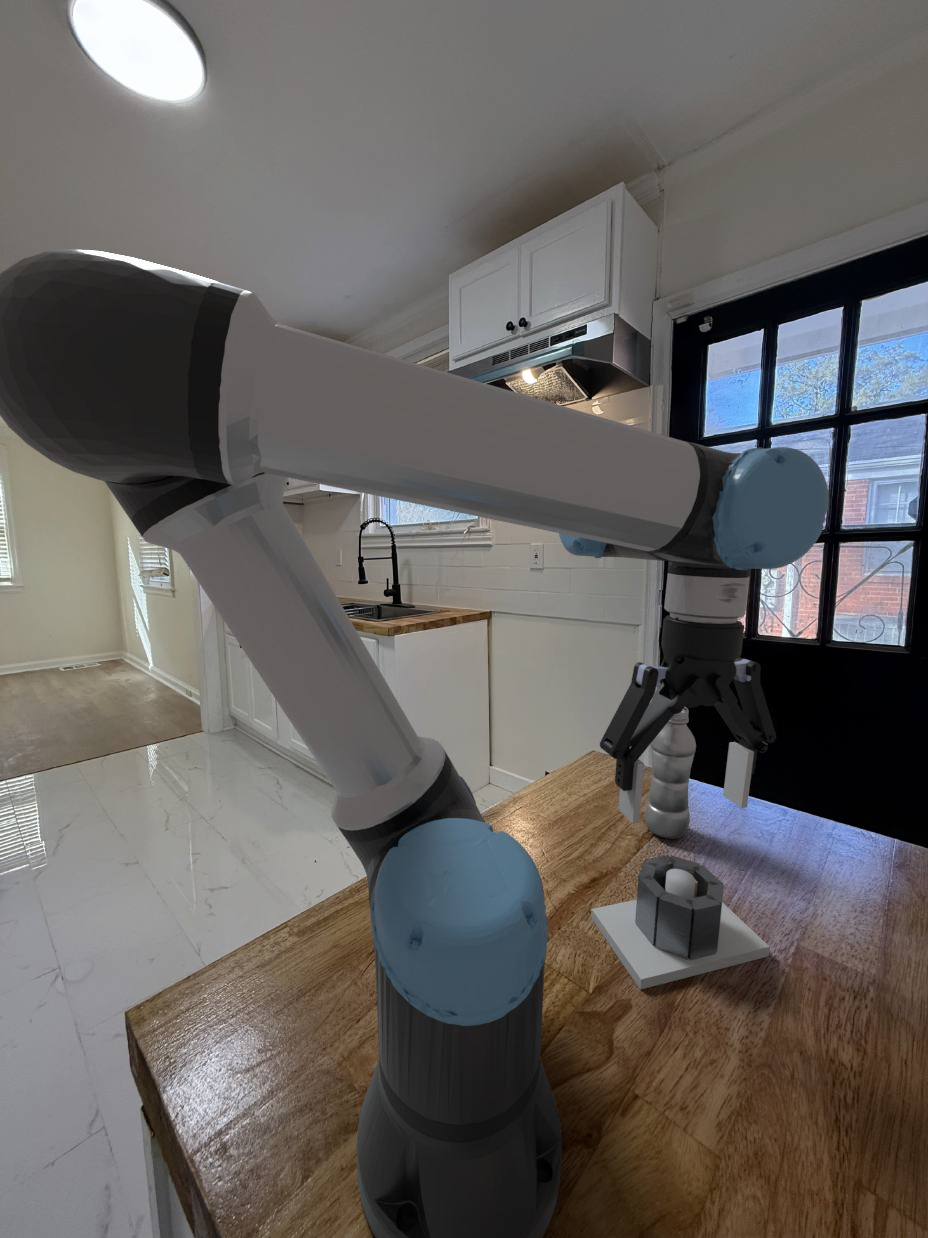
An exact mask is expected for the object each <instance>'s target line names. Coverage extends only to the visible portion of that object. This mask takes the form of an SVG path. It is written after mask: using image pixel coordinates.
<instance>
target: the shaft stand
mask: <svg viewBox="0 0 928 1238" xmlns="http://www.w3.org/2000/svg"><path fill="white" fill-rule="evenodd" d="M697 885H698V882H697V881H696V880H695V878H694V877H693V876H692V875H691V874H690V873H688V872H686V871H684V870H681V869H670V870H668V871H667V873H666V885H665V891H666V892H669V893H672V894H675V895H678V896H681V897H684V898H687V899H692V898H696V896H697ZM636 904H637V899H633V900H627V901H623V902H618V903H614V904H609V905H608V904H607V905H604V906H600V907H599V906H598V907H594V908H591V911H590V912H591V913H590V915H591V916H590V918H591V920H592V922H593V923H594V925H595V926H596V928H598V930H599V932H600V933H601V934H602V936H603V937H604V939H605V940H606V942H607V944H609V946H610V947H611V949H612V950H613V952H614V953H615V955H616V956H617V958H618V959H619V961H620V962H621V964H622V965H623V967H624V968H625V969H626V971H627V972H628V974H629V976H630V977H631V978H632V980H633V981H634V983H635V985H637V987H638V988H639V990H644V989H647V988H653V987H655V986H656V987H657V986H660V985H664V984H667V983H671V982H675V981H678V980H683V979H688V978H691V977H694V976H698V975H702V974H706V973H709V972H715V971H718V970H721V969H725V968H729V967H730V968H731V967H733V966H737V965H741V964H744V963H749V962H751V961H756V960H760V959H763V958H767V957H769V954H770V945H768V943H766V941H764V940H763V939H762V938H761V937H760V936H759V935H758V934H757V933H756V932H754V931H753V930H752V929H751V928H750V926H748V925H747V924H746V923H745V922H744V921H743V920H741V918H740V917H738V916H737V915H736V914H735V913H734V912H733V911H732V910H731V909H730V908H729V907H728V906H727V905H726V904H725V903H724V902H722V909H721V919H720V928H719V938H718V948H717V953H716V954H714V955H710V956H706V957H702V958H698V959H694V960H689V958H688V959H687V960H685V959H683V958H680V957H678V956H675V955H673V954H670V953H667V952H665V951H662V950H660V949H657V948H655V946H656V945H655V946H652V944H651V943H650V942H649V941H648V939H647V938H646V937H645V935H644V934H643V933H642V932H641V930H640V929H639V928H638V927H637V925H636V923H635V919H636Z"/></svg>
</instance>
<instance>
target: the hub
mask: <svg viewBox="0 0 928 1238" xmlns="http://www.w3.org/2000/svg"><path fill="white" fill-rule="evenodd" d="M670 869H681V870H684V871H686V872H688V873H690V874H691V875H692V876H693V877H694V878H695V880H696V881H697V882H698V885H697V896H696V898H692V899H687V898H684V897H681V896H678V895H675V894H672V893H669V892H666V891H665V885H666V873H667V871H668V870H670ZM637 877H638V878H637V889H636V890H637V894H636V900H637V904H636V919H635V923H636V925H637V927H638V928H639V929H640V930H641V932H642V933H643V934H644V935H645V937H646V938H647V939H648V941H649V942H650V943H651V944H652V946H655V945H656V946H655V948H657V949H660V950H662V951H665V952H667V953H670V954H673V955H675V956H678V957H680V958H683V959H685V960H687V959H688V958H689V960H694V959H698V958H702V957H706V956H710V955H714V954H716V953H717V948H718V938H719V928H720V919H721V909H722V903H723V899H724V898H723V897H724V896H723V895H724V890H725V889H724V888H725V887H724V886H725V885H724V883H723V882H722V881H721V880H720V879H719V878H718V877H716V876H715V875H714V874H713V873H712V872H711V871H710V870H709V869H707V868H706V866H704V865H703V864H701V863H698V862H696V861H692V860H689V859H685V858H682V857H678V856H675V855H669V854H666V855H660V856H654V857H650V858H645V860H643V861H642V865H641V868H640V870H639V873H638V876H637Z"/></svg>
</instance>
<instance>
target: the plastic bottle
mask: <svg viewBox="0 0 928 1238" xmlns="http://www.w3.org/2000/svg"><path fill="white" fill-rule="evenodd" d="M689 719H690V718H689V708H688V707H686V706H685V707H684V709H683V710H682V711H681V712H680V713H678V714H674V715H673V717H672V718H671V719H670V720H669V721H668V723H667V724H666V725H665V726H664V728H663V729H662V730H661V731H660V733H659V734H658V735H657V736H656V738H655V739H654V740H653V741H652V742H651V744H650V753H651V782H650V788H649V793H648V799H647V801H646V804H645V809H644V818H645V819H644V820H645V824H646V826H647V827H648V829H649V831H650V832H651V833H652V834H653V835H655V836H657V837H660V838H664V839H670V840H676V839H680V838H682V837H683V836H684V835H686V833H687V832H688V830H689V827H690V822H691V821H690V820H691V818H690V808H689V785H690V784H689V783H690V776H691V768H692V764H693V761H694V758H695V753H696V748H697V744H696V739H695V736H694V735H693V733H692V731H691V730H690V728H689V727H688V725H687V724H688V723H689V721H690V720H689Z"/></svg>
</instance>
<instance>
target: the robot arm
mask: <svg viewBox="0 0 928 1238" xmlns="http://www.w3.org/2000/svg"><path fill="white" fill-rule="evenodd" d="M0 418H2V420H3V421H4V423H5V424H6V426H8V427H7V428H9V429H10V430H11V431H12V432H14V433H15V434H16V435H17V436H18V437H19V439H21V440H22V441H23V442H25V444H27V446H30V447H31V448H32V449H33V450H35V451H37V453H39V454H40V455H42V456H43V457H45V458H46V459H48V460H49V461H51V462H53V463H55V464H57V465H59V466H61V467H62V468H65V469H68V470H69V471H71V472H73V473H75V474H79V475H82V476H86V477H88V478H92V479H95V480H98V481H101V482H102V481H103V482H104V483H105V485H106V486H107V488H108V489H109V490H110V492H111V493H112V495H113V496H114V498H115V499H116V501H117V502H118V503H119V505H120V507H121V508H122V509H123V511H124V513H125V514H126V515H127V517H128V519H129V520H130V521H131V523H132V524H133V526H134V527H135V528H136V530H137V532H138V533H139V534H140V536H141V537H142V539H143V541H145V542H146V543H148V544H151V545H155V546H158V547H161V548H165V549H169V550H173V551H174V552H176V553H178V554H179V555H180V557H181V558H182V559H183V561H184V562H185V564H186V565H187V567H188V568H189V570H190V571H191V573H192V574H193V576H194V578H195V579H196V580H197V582H198V583H199V585H200V587H201V588H202V590H203V591H204V593H205V594H206V596H207V597H208V599H209V600H210V602H211V604H212V605H213V606H214V607H215V609H216V611H217V613H218V614H219V615H220V617H221V619H222V620H223V622H224V623H225V625H226V626H227V628H228V629H229V631H230V633H231V634H232V635H233V637H234V639H235V640H236V642H237V643H238V644H239V645H240V647H241V649H242V651H243V652H244V653H245V655H246V657H247V658H248V660H249V662H250V663H251V665H252V666H253V667H254V669H255V670H256V672H257V673H258V675H259V676H260V678H261V680H262V681H263V682H264V683H265V685H266V687H267V688H268V689H269V692H270V693H271V695H273V697H274V699H275V700H276V702H277V703H278V705H279V707H280V709H281V710H282V712H283V713H284V714H285V716H286V717H287V719H288V720H289V722H290V723H291V725H292V727H293V728H294V730H295V731H296V732H297V734H298V735H299V737H300V738H301V741H303V743H304V745H305V746H306V748H307V750H308V751H309V752H310V754H311V755H312V757H313V758H314V760H315V761H316V763H317V764H318V766H319V768H320V770H321V771H322V772H323V774H324V775H325V777H326V778H327V779H328V781H329V782H330V784H331V786H332V787H333V789H334V791H335V795H334V799H333V802H332V806H331V811H330V814H331V819H332V820H333V822H334V823H335V826H336V827H337V829H338V830H339V832H340V833H341V834H342V836H343V837H344V839H345V840H346V842H347V843H348V844H349V846H350V847H351V849H352V851H353V852H354V853H355V856H356V857H357V858H358V860H359V861H360V863H361V864H362V867H363V869H364V871H365V874H366V878H367V880H366V881H367V889H368V902H369V909H370V910H369V913H370V921H371V932H372V943H373V944H372V945H373V954H374V967H375V980H376V981H375V982H376V1008H377V1010H376V1011H377V1012H376V1013H377V1037H378V1038H377V1039H378V1040H377V1041H378V1043H377V1044H378V1060H377V1063H376V1066H375V1067H374V1071H373V1074H372V1076H371V1079H370V1081H369V1085H368V1088H367V1090H366V1093H365V1096H364V1099H363V1103H362V1105H361V1110H360V1114H359V1117H358V1118H359V1119H358V1125H357V1133H356V1167H357V1168H356V1169H357V1184H358V1192H359V1197H360V1200H361V1206H362V1209H363V1212H364V1215H365V1218H366V1220H367V1223H368V1225H369V1227H370V1229H371V1232H372V1234H373V1236H374V1238H543V1237H544V1235H545V1234H546V1231H547V1229H548V1227H549V1225H550V1223H551V1220H552V1218H553V1214H554V1212H555V1209H556V1205H557V1202H558V1201H557V1200H558V1198H559V1197H558V1196H559V1193H560V1188H561V1176H562V1175H561V1174H562V1155H563V1139H562V1137H563V1136H562V1128H561V1120H560V1115H559V1114H560V1113H559V1110H558V1107H557V1106H558V1104H557V1103H556V1099H555V1096H554V1093H553V1090H552V1087H551V1085H550V1082H549V1079H548V1076H547V1073H546V1070H545V1067H544V1064H543V1061H542V1058H541V1052H542V1051H541V1050H542V1033H543V1032H542V1031H543V1029H542V1027H543V1007H544V985H545V966H546V965H545V963H546V955H547V947H548V938H549V937H548V935H549V934H548V933H549V931H548V930H549V923H548V916H547V914H546V912H547V907H546V902H545V901H546V897H545V891H544V884H543V880H542V878H541V875H540V872H539V870H538V868H537V865H536V863H535V862H534V860H533V858H532V856H531V855H530V854H529V852H528V851H527V850H526V848H525V847H523V846H522V844H521V843H520V842H518V840H516V839H515V838H514V837H513V836H511V835H510V834H509V833H507V832H505V831H503V830H501V831H498V832H494V829H493V826H492V825H491V824H489V823H486V820H485V819H484V817H483V815H482V813H481V812H480V809H479V808H478V806H477V801H476V800H475V797H474V795H473V792H472V790H471V789H470V786H469V785H468V783H467V782H466V781H465V779H464V778H463V776H462V775H460V774H459V773H458V771H457V768H456V767H455V765H454V763H453V762H452V760H451V759H450V757H449V755H448V753H447V752H446V750H445V749H444V747H443V745H442V744H441V743H440V742H439V741H438V740H436V739H435V738H430V737H426V736H425V737H424V736H419V735H418V734H417V733H416V731H415V729H414V727H413V726H412V724H411V722H410V721H409V719H408V717H407V715H406V714H405V712H404V710H403V709H402V706H401V705H400V703H399V702H398V700H397V698H396V696H395V695H394V693H393V691H392V689H391V688H390V686H389V684H388V682H387V681H386V679H385V677H384V676H383V674H382V673H381V670H380V669H379V667H378V666H377V663H376V662H375V661H374V659H373V657H372V655H371V653H370V652H369V649H368V648H367V646H366V645H365V643H364V641H363V640H362V638H361V636H360V634H359V632H358V631H357V629H356V627H355V626H354V624H353V622H352V621H351V619H350V617H349V616H348V614H347V613H346V611H345V609H344V607H343V604H341V601H340V600H339V599H338V597H337V595H336V593H335V591H334V590H333V587H331V584H330V583H329V581H328V579H327V578H326V576H325V574H324V573H323V571H322V569H321V568H320V566H319V564H318V563H317V560H316V558H315V557H314V555H313V554H312V552H311V550H310V548H309V546H308V544H307V543H306V542H305V540H304V538H303V536H302V535H301V532H300V531H299V530H298V528H297V526H296V524H295V523H294V520H293V519H292V518H291V516H290V514H289V513H288V511H287V508H286V507H285V506H284V493H285V490H286V485H287V481H288V479H294V480H298V481H304V482H308V483H312V484H318V485H323V486H328V487H333V488H337V489H343V490H346V491H351V492H357V493H362V494H367V495H372V496H375V497H377V496H378V497H380V498H381V497H382V498H384V499H385V498H386V499H391V500H395V501H400V502H406V503H411V504H415V505H419V506H425V507H429V508H430V507H431V508H435V509H438V510H445V511H449V512H455V513H458V514H459V513H460V514H464V515H468V516H473V517H479V518H484V519H488V520H494V521H497V522H498V521H499V522H502V523H503V522H504V523H508V524H513V525H519V526H522V527H528V528H532V529H537V530H542V531H547V532H552V533H557V534H558V535H559V538H560V541H561V544H562V545H563V548H564V549H565V550H566V551H567V552H568V553H569V554H572V555H574V556H580V557H594V558H595V559H601V558H623V559H624V558H625V559H638V560H647V561H648V560H649V561H657V562H658V561H661V562H668V566H667V567H668V568H667V577H666V578H667V579H666V588H665V598H664V606H663V608H664V610H665V611H666V612H668V613H669V615H666V616H665V617H664V618H663V620H662V621H663V622H662V633H661V642H660V643H661V644H660V646H661V649H662V652H663V659H662V662H661V664H660V666H655V665H650V664H649V665H648V664H646V663H644V662H640V661H639V662H636V663H635V665H634V667H633V672H632V676H631V680H630V684H629V686H628V688H627V690H626V692H625V694H624V696H623V698H622V700H621V702H620V703H619V705H618V707H617V709H616V712H615V713H614V715H613V717H612V719H611V720H610V721H609V725H608V726H607V728H606V731H605V732H604V734H603V735H602V738H601V740H600V742H599V747H600V749H601V750H603V751H604V752H605V753H607V754H608V755H609V756H610V757H612V758H613V759H614V760H615V774H614V782H615V785H616V786H617V787H618V788H619V794H618V795H619V797H618V799H619V800H618V811H619V812H620V813H621V814H622V815H623V816H624V817H625V818H626V819H627V820H628V821H630V822H631V824H638V823H640V818H641V817H640V815H641V807H642V806H641V804H642V795H643V783H644V782H643V781H644V773H645V772H644V770H645V762H643V761H642V760H640V757H641V756H642V755H643V754H644V752H646V750H647V749H648V747H649V746H651V742H652V741H653V740H654V739H655V738H656V736H657V735H658V734H659V733H660V731H661V730H662V729H663V728H664V726H665V725H666V724H667V723H668V721H669V720H670V719H671V718H672V717H673V715H674V714H678V713H680V712H681V711H682V710H683V709H684V707H686V708H688V709H691V708H693V709H694V708H696V707H700V706H705V707H714V708H715V709H716V711H717V713H718V714H719V715H720V717H721V719H722V720H723V721H724V723H725V724H726V726H727V727H728V729H729V730H730V732H731V733H732V735H733V736H734V738H735V739H736V741H738V742H736V741H733V742H732V741H731V742H729V743H728V751H727V759H726V760H727V761H726V768H725V778H724V785H723V792H722V793H723V794H722V795H723V797H724V798H726V799H727V800H729V801H730V802H732V804H734V805H736V806H737V807H739V808H741V809H742V808H743V809H745V808H748V803H749V796H750V795H749V794H750V786H751V780H752V776H753V775H754V774H755V771H756V765H757V757H758V752H759V753H761V754H764V753H766V752H767V751H768V749H769V744H773V743H774V742H775V741H776V740H777V734H776V730H775V727H774V724H773V721H772V717H771V713H770V710H769V707H768V704H767V701H766V697H765V694H764V690H763V686H762V683H761V669H762V668H761V664H760V663H759V662H755V661H753V660H749V659H746V658H744V657H741V656H742V650H743V642H744V635H745V634H744V633H745V625H744V624H743V622H742V621H740V620H738V619H740V618H743V617H744V616H745V615H746V614H747V613H746V612H747V605H748V604H747V603H748V596H749V588H750V587H749V586H750V579H751V577H750V576H751V572H752V571H751V569H755V570H756V569H757V570H760V569H761V570H772V569H780V568H783V567H787V566H789V565H790V564H792V563H794V562H796V561H798V560H800V559H801V558H803V557H804V556H805V555H806V554H807V553H808V552H809V551H810V550H811V549H812V547H813V546H814V545H815V544H816V542H817V541H818V539H819V537H821V534H822V531H823V530H824V523H825V521H826V515H827V512H828V510H829V503H830V502H829V499H830V497H829V489H828V488H829V487H828V483H827V480H826V478H825V475H824V473H823V471H822V469H821V467H820V466H819V464H818V463H817V462H816V461H815V460H814V459H813V458H812V457H811V456H810V455H808V454H807V453H805V452H803V451H802V450H799V449H797V448H793V447H787V446H782V447H781V446H779V447H778V446H777V447H768V448H764V447H760V446H758V447H754V448H753V447H752V448H748V449H746V450H743V451H742V452H728V451H723V450H719V449H716V448H712V447H709V446H705V445H702V444H698V443H695V442H690V441H688V440H687V441H686V440H683V439H682V440H681V439H677V438H674V437H670V436H667V435H663V434H661V433H657V432H653V431H649V430H647V429H643V428H639V427H636V426H632V425H629V424H626V423H623V422H619V421H615V420H613V419H609V418H605V417H602V416H599V415H598V416H597V415H595V414H592V413H588V412H584V411H581V410H577V409H573V408H571V407H567V406H565V405H560V404H557V403H554V402H549V401H547V400H543V399H540V398H536V397H532V396H530V395H527V394H522V393H519V392H516V391H512V390H509V389H505V388H502V387H498V386H495V385H492V384H488V383H484V382H482V381H478V380H475V379H471V378H467V377H464V376H462V375H457V374H453V373H450V372H447V371H444V370H439V369H436V368H433V367H429V366H426V365H422V364H419V363H417V362H412V361H409V360H405V359H402V358H398V357H395V356H393V355H388V354H385V353H381V352H378V351H374V350H371V349H367V348H366V347H365V348H364V347H360V346H357V345H354V344H350V343H347V342H343V341H340V340H336V339H333V338H329V337H326V336H322V335H319V334H315V333H313V332H309V331H305V330H303V329H298V328H296V327H292V326H289V325H285V324H282V323H279V322H278V321H277V320H275V318H273V317H272V315H271V314H270V312H269V311H268V309H267V308H266V307H265V305H264V304H263V303H262V301H261V299H260V298H259V297H258V295H257V294H256V293H255V292H252V291H249V290H247V289H243V288H240V287H236V286H232V285H230V284H226V283H222V282H220V281H217V280H213V279H210V278H206V277H205V276H204V277H203V276H200V275H197V274H194V273H190V272H187V271H183V270H179V269H177V268H172V267H169V266H165V265H162V264H157V263H153V262H150V261H146V260H143V259H140V258H139V259H138V258H135V257H131V256H126V255H121V254H117V253H116V254H115V253H110V252H105V251H99V250H89V249H87V250H86V249H84V250H83V249H62V250H61V249H60V250H50V251H49V250H48V251H44V252H40V253H37V254H34V255H31V256H27V257H25V258H22V259H19V261H16V262H15V263H14V264H13V265H10V266H8V268H6V269H5V270H3V271H1V272H0ZM661 682H662V683H661ZM732 682H733V683H734V686H735V689H736V692H737V696H738V698H739V700H738V698H737V696H736V695H735V693H734V692H733V690H732V688H731V687H730V685H731V683H732ZM669 696H670V698H671V699H670V698H668V697H669ZM738 702H740V705H739V704H738ZM740 706H741V707H740ZM741 708H742V709H741ZM767 742H768V743H769V744H768V743H767Z"/></svg>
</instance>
